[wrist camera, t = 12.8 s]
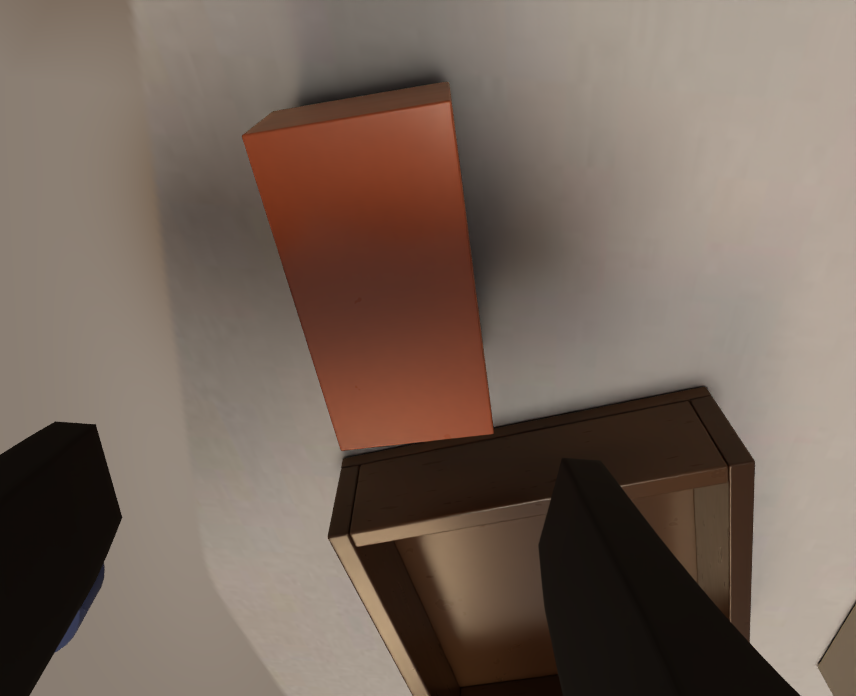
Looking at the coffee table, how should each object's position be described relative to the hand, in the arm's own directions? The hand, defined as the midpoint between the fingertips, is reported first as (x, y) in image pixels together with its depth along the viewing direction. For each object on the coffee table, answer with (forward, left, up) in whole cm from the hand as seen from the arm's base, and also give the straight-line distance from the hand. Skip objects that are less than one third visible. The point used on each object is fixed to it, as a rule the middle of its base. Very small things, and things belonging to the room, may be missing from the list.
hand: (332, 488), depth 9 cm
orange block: (+1, +1, -9) cm, 9 cm away
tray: (+3, -14, -9) cm, 17 cm away
